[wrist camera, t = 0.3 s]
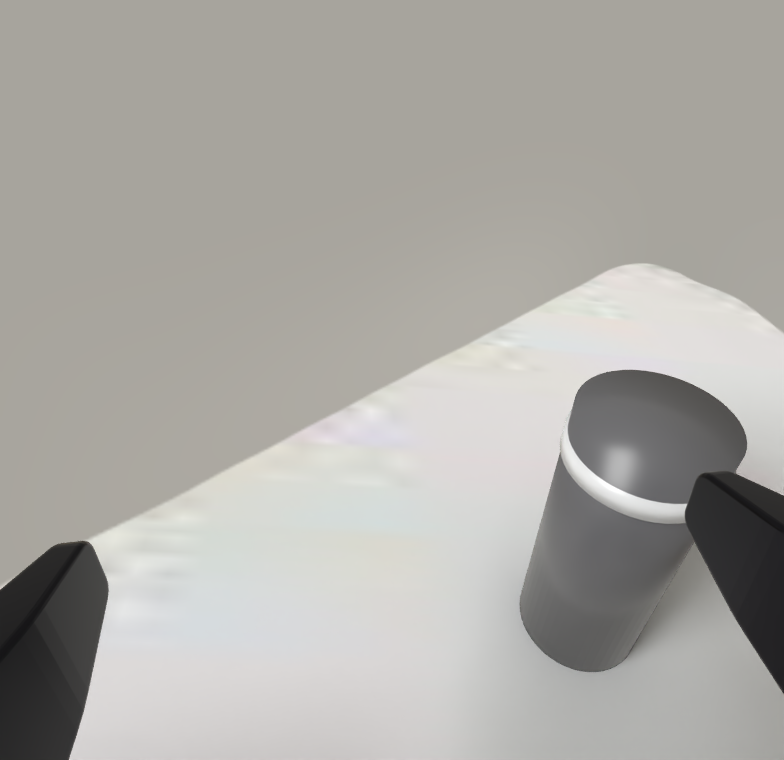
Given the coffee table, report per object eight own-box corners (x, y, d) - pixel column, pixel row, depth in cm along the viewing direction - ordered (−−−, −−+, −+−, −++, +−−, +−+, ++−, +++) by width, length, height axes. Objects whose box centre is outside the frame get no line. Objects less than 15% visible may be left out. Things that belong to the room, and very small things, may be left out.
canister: (661, 660, 22) (793, 465, 15) (546, 686, 22) (626, 494, 14) (599, 554, 26) (679, 360, 19) (500, 573, 26) (544, 378, 18)
